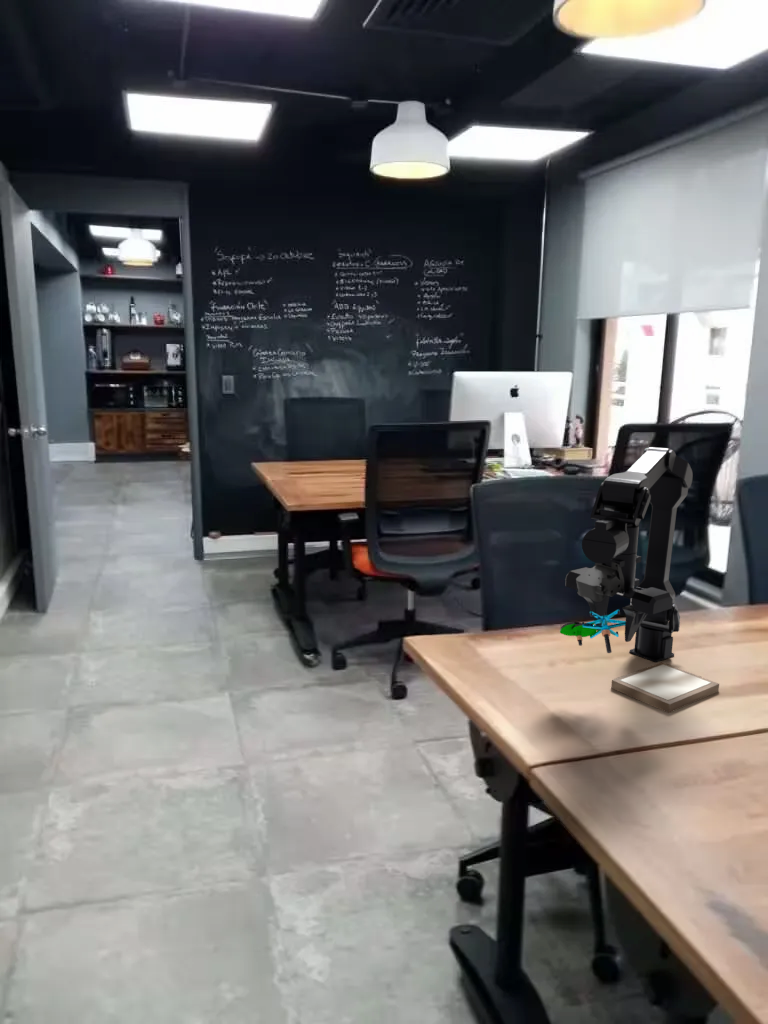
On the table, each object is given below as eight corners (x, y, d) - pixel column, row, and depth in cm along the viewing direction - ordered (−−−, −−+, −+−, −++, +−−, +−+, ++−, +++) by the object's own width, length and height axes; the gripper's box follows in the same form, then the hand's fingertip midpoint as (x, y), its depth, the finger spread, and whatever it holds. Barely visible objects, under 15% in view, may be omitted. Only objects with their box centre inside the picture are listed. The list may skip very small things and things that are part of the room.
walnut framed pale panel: (611, 688, 139) (611, 679, 138) (660, 669, 147) (661, 661, 147) (668, 713, 129) (669, 703, 129) (718, 692, 138) (719, 683, 137)
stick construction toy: (631, 621, 135) (620, 601, 129) (638, 657, 130) (627, 637, 125) (565, 635, 139) (552, 615, 134) (570, 670, 135) (557, 651, 130)
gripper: (546, 545, 133) (542, 629, 137) (635, 570, 118) (627, 664, 122) (588, 536, 139) (583, 617, 143) (678, 560, 124) (670, 649, 128)
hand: (613, 635), depth 134 cm, fingers closed on stick construction toy, 6 cm apart
